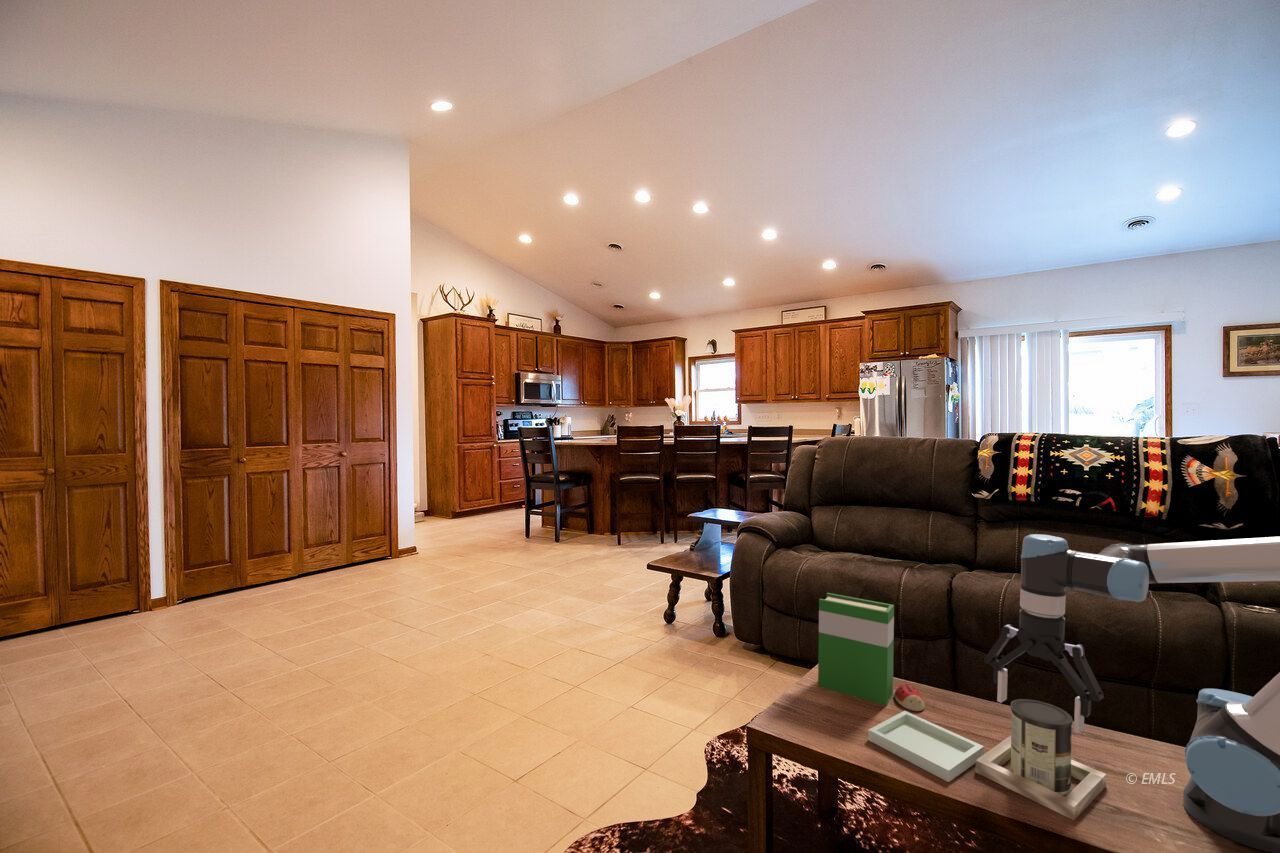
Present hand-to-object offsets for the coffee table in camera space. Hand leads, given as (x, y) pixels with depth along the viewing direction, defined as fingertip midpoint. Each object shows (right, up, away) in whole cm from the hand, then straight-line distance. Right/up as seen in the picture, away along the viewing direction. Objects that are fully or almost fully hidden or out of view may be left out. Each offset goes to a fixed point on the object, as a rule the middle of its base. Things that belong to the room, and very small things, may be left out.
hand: (1038, 714), depth 115 cm
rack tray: (-18, -13, +10) cm, 25 cm away
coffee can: (0, -13, 0) cm, 13 cm away
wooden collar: (0, -13, 0) cm, 13 cm away
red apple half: (-12, -13, +31) cm, 35 cm away
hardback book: (-23, -13, +37) cm, 46 cm away
